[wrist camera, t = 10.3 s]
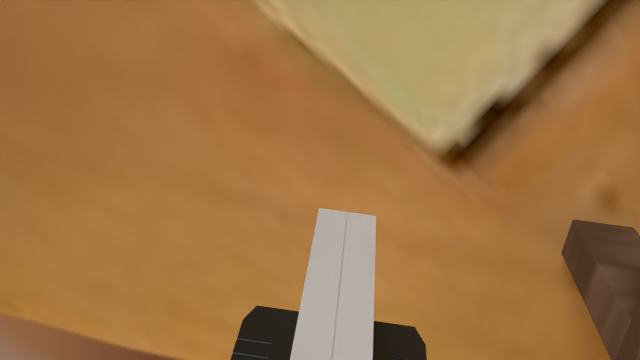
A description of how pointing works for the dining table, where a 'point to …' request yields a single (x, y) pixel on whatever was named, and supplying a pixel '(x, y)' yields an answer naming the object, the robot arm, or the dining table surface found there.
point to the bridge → (608, 282)
